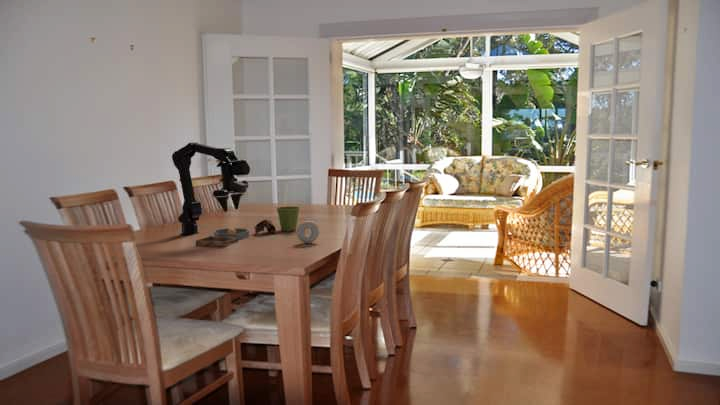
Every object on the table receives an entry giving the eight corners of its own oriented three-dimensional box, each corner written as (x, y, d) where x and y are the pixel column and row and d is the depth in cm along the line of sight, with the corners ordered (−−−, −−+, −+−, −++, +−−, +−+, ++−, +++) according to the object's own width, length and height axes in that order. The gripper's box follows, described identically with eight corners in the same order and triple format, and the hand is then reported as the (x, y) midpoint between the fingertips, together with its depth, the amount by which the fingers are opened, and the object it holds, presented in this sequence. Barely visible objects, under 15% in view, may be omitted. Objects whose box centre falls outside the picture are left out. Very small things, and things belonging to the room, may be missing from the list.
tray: (196, 245, 255) (195, 240, 255) (210, 241, 266) (210, 236, 265) (224, 247, 251) (224, 242, 251) (238, 242, 261) (238, 238, 261)
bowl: (207, 239, 268) (207, 232, 268) (226, 234, 283) (225, 227, 282) (237, 242, 263) (237, 234, 263) (254, 236, 278) (254, 229, 277)
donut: (297, 244, 257) (297, 221, 256) (295, 243, 260) (295, 220, 259) (320, 243, 261) (320, 220, 260) (317, 241, 264) (317, 219, 263)
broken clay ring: (276, 237, 277) (267, 223, 275) (259, 245, 279) (250, 231, 277) (281, 227, 288) (272, 213, 286) (264, 235, 290) (255, 221, 288)
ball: (225, 237, 272) (225, 228, 271) (230, 235, 275) (229, 227, 275) (233, 237, 270) (232, 229, 270) (237, 236, 274) (237, 227, 274)
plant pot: (297, 227, 302) (297, 205, 300) (302, 231, 291) (302, 208, 289) (274, 229, 298) (273, 206, 297) (278, 232, 287) (278, 209, 286)
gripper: (232, 176, 259) (236, 212, 260) (254, 173, 276) (257, 207, 278) (210, 178, 262) (214, 213, 264) (233, 175, 280) (236, 208, 281)
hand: (231, 210), depth 271 cm, fingers open, 9 cm apart
